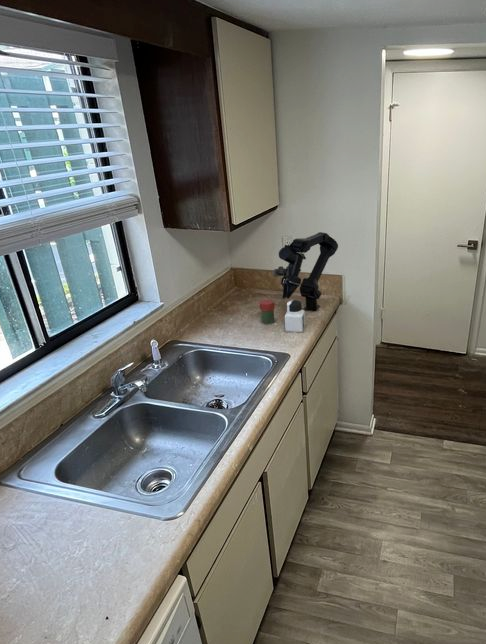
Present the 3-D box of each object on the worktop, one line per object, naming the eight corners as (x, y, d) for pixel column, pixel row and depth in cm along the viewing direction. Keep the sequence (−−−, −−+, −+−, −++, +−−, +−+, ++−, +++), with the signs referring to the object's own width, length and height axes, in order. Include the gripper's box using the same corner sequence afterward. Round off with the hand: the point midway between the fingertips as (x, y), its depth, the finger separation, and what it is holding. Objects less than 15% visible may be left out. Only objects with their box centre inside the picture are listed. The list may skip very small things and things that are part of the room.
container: (305, 325, 201) (304, 298, 196) (302, 332, 194) (301, 305, 189) (288, 324, 202) (287, 298, 197) (285, 331, 195) (283, 304, 190)
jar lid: (263, 305, 206) (263, 298, 205) (276, 306, 205) (276, 299, 203) (257, 310, 200) (257, 303, 199) (271, 311, 199) (270, 305, 197)
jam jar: (265, 318, 208) (263, 299, 204) (276, 319, 207) (275, 301, 203) (260, 323, 203) (258, 304, 199) (271, 324, 202) (270, 305, 198)
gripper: (274, 262, 206) (265, 293, 205) (281, 258, 188) (271, 293, 188) (296, 269, 210) (288, 300, 209) (305, 266, 192) (296, 300, 191)
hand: (285, 298), depth 199 cm, fingers open, 9 cm apart
